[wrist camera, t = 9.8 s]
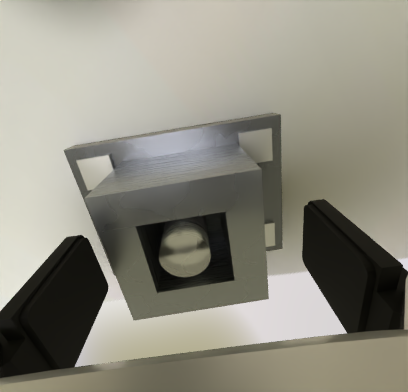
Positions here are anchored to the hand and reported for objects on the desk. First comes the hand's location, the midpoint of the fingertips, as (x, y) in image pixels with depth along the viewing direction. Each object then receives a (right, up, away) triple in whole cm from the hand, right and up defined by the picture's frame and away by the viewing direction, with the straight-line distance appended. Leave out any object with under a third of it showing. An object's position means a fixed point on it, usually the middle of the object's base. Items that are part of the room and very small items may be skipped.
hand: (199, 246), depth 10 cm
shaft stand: (-1, +2, +5) cm, 6 cm away
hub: (-1, +2, +4) cm, 5 cm away
